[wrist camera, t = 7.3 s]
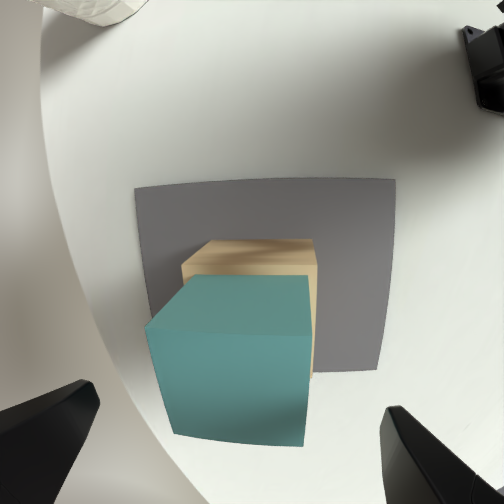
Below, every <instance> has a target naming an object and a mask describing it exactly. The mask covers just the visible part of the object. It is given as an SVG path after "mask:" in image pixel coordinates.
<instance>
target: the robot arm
mask: <svg viewBox="0 0 504 504" xmlns="http://www.w3.org/2000/svg"><path fill="white" fill-rule="evenodd" d="M497 7H498V8H499V9H500V11H501V12H502V13H504V0H503V1H502V2H500V3H499V4H498V5H497ZM468 31H469V32H470V34H469V32H468ZM462 32H463V36H464V39H465V43H466V49H467V53H468V57H469V62H470V67H471V72H472V76H473V80H474V86H475V92H476V99H477V104H478V106H479V107H480V108H481V109H482V110H485V111H489V112H493V113H497V114H500V115H504V23H502V24H500V25H499V26H493V27H492V28H490V29H489V30H487V31H486V32H485V31H482V30H479V29H476V28H473V27H471V26H465V27H464V28H463V29H462ZM482 101H484V102H485V105H484V104H483V102H482ZM99 406H100V399H99V397H98V395H97V392H96V390H95V387H94V385H93V383H92V382H90V381H87V380H83V379H81V380H78V381H75V382H73V383H71V384H68V385H66V386H64V387H61V388H59V389H56V390H54V391H51V392H49V393H46V394H44V395H41V396H39V397H36V398H34V399H31V400H29V401H26V402H24V403H21V404H18V405H16V406H13V407H10V408H8V409H5V410H2V411H0V504H54V502H55V500H56V497H57V495H58V493H59V491H60V489H61V487H62V485H63V483H64V481H65V479H66V477H67V475H68V473H69V471H70V469H71V467H72V465H73V463H74V461H75V460H76V458H77V455H78V454H79V452H80V450H81V448H82V446H83V444H84V442H85V440H86V438H87V436H88V433H89V431H90V428H91V426H92V423H93V421H94V418H95V416H96V413H97V411H98V409H99ZM380 444H381V460H382V477H383V484H384V490H385V496H386V502H387V504H504V495H502V494H501V493H499V492H498V491H497V490H495V489H494V488H493V487H492V486H490V485H489V484H488V483H487V482H486V481H484V480H483V479H482V478H481V477H480V476H479V475H476V473H475V472H474V471H473V470H472V469H471V468H470V467H469V466H467V465H466V464H465V463H464V462H463V461H462V460H461V459H460V458H459V457H457V456H456V455H455V454H454V453H453V452H452V451H451V450H450V449H448V448H447V447H446V446H445V445H444V444H443V443H442V442H441V441H440V440H439V439H437V438H436V437H435V436H434V435H433V434H432V433H431V432H430V431H429V430H427V429H426V428H425V427H424V426H423V425H422V424H421V423H420V422H419V421H418V420H416V419H415V418H414V417H413V416H412V415H411V414H410V413H409V412H408V411H407V410H405V409H404V408H403V407H402V406H400V405H398V406H389V407H387V408H386V410H385V413H384V416H383V419H382V422H381V425H380Z"/></svg>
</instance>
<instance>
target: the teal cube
mask: <svg viewBox="0 0 504 504" xmlns="http://www.w3.org/2000/svg"><path fill="white" fill-rule="evenodd" d="M145 332H146V336H147V341H148V345H149V349H150V353H151V357H152V361H153V365H154V369H155V373H156V377H157V380H158V384H159V388H160V391H161V395H162V398H163V401H164V405H165V408H166V411H167V414H168V418H169V421H170V424H171V427H172V430H173V433H174V434H178V435H184V436H189V437H195V438H201V439H208V440H215V441H223V442H232V443H241V444H253V445H268V446H295V447H303V444H304V435H305V426H306V416H307V405H308V394H309V381H310V367H311V352H312V321H311V306H310V293H309V280H308V275H201V274H195V275H194V276H193V277H192V278H191V279H190V280H189V281H188V282H187V283H186V284H185V285H184V286H183V287H182V288H181V289H180V290H179V291H178V292H177V293H176V294H175V295H174V297H173V298H172V299H171V300H170V301H169V302H168V303H167V304H166V305H165V306H164V307H163V308H162V309H161V310H160V311H159V312H158V313H157V314H156V315H155V316H154V318H153V319H152V320H151V321H150V322H149V323H148V324H147V325H146V326H145Z"/></svg>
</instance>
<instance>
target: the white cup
mask: <svg viewBox="0 0 504 504" xmlns="http://www.w3.org/2000/svg"><path fill="white" fill-rule="evenodd" d="M28 1H31V2H34V3H37V4H40V5H42V6H45V7H47V8H51V9H53V10H56V11H59V12H62V13H64V14H67V15H69V16H72V17H75V18H79V19H81V20H84V21H86V22H88V23H90V24H93V25H98V26H102V27H105V26H108V25H112V24H115V23H119V22H121V21H123V20H124V19H126V18H127V17H129V16H131V15H132V14H134V13H136V12H137V11H138V10H139V9H140V8H141V7H142V6H143V5H144V4H145V3H146V2H147V1H148V0H28Z"/></svg>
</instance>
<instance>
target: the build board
mask: <svg viewBox="0 0 504 504" xmlns="http://www.w3.org/2000/svg"><path fill="white" fill-rule="evenodd" d="M135 201H136V211H137V221H138V230H139V239H140V247H141V254H142V261H143V268H144V275H145V281H146V287H147V293H148V299H149V304H150V310H151V315H152V319H153V318H154V316H155V315H156V314H157V313H158V312H159V311H160V310H161V309H162V308H163V307H164V306H165V305H166V304H167V303H168V302H169V301H170V300H171V299H172V298H173V297H174V295H175V294H176V293H177V292H178V291H179V290H180V289H181V288H182V287H183V286H184V283H183V275H182V266H181V265H182V264H183V263H184V262H185V261H186V260H188V259H189V258H190V257H191V256H192V255H194V254H195V253H196V252H197V251H198V250H200V249H201V248H202V247H203V246H205V245H206V244H207V243H208V242H209V241H211V240H245V239H312V241H313V245H314V250H315V255H316V260H317V299H316V323H315V341H314V357H313V371H312V372H346V371H366V370H377V365H378V360H379V355H380V350H381V344H382V339H383V333H384V326H385V320H386V313H387V306H388V298H389V290H390V281H391V271H392V259H393V246H394V228H395V180H394V179H370V178H276V179H248V180H228V181H212V182H198V183H185V184H173V185H162V186H152V187H143V188H135Z"/></svg>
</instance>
